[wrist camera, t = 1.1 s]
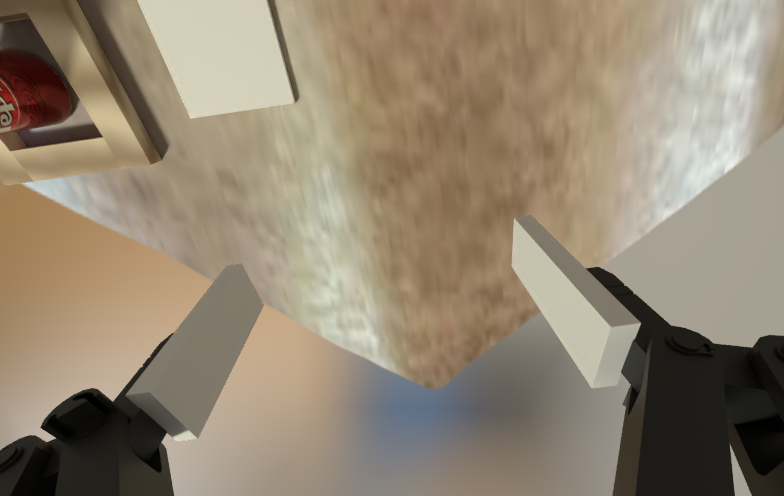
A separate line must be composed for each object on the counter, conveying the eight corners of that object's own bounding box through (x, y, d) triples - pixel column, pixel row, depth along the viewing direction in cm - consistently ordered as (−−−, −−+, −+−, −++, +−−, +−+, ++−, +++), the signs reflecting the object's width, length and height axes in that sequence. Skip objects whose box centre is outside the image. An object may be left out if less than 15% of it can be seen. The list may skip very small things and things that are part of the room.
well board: (-128, -7, 27) (-162, -13, 26) (55, -39, 27) (33, -47, 25) (23, 179, 37) (5, 185, 35) (162, 160, 36) (151, 164, 34)
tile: (131, -21, 27) (127, -23, 27) (256, -42, 27) (254, -44, 26) (193, 117, 34) (190, 118, 33) (296, 102, 33) (294, 103, 33)
